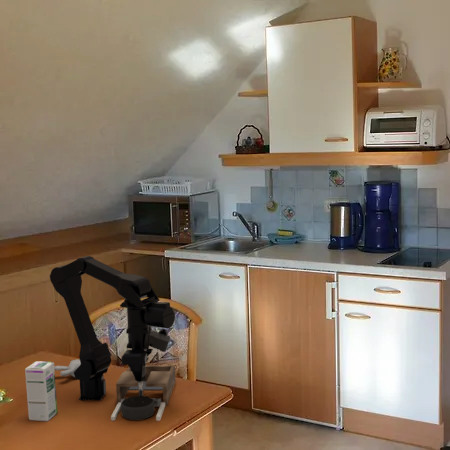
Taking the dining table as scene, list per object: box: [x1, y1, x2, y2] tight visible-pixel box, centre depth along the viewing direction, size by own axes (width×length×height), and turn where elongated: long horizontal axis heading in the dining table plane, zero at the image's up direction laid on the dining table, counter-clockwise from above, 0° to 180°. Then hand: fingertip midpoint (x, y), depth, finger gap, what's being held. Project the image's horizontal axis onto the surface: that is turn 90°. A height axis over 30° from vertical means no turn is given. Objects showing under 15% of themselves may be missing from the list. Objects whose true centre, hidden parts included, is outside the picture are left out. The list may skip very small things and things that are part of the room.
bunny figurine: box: [54, 358, 81, 378], centre depth 215 cm, size 10×5×15 cm
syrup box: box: [24, 360, 59, 422], centre depth 183 cm, size 6×6×14 cm
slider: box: [121, 365, 162, 408], centre depth 189 cm, size 11×3×11 cm, turn 87°
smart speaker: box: [120, 395, 155, 421], centre depth 184 cm, size 9×9×4 cm
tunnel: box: [115, 364, 176, 407], centre depth 199 cm, size 14×19×6 cm
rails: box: [110, 401, 166, 422], centre depth 185 cm, size 13×10×1 cm
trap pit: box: [128, 381, 163, 391], centre depth 205 cm, size 12×6×1 cm, turn 87°
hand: (140, 379), depth 188 cm, fingers closed on slider, 3 cm apart
